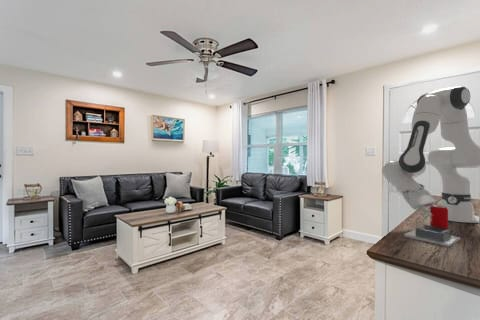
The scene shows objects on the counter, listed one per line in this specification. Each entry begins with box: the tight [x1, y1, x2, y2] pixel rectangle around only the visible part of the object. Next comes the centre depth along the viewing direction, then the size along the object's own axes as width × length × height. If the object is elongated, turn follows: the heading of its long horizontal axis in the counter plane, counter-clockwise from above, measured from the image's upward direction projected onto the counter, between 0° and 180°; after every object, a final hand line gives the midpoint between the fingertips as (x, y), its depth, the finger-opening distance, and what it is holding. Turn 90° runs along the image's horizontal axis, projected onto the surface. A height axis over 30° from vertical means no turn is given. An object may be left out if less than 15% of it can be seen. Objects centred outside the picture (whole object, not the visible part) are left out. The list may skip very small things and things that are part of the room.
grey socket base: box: [403, 224, 461, 248], centre depth 102 cm, size 14×15×4 cm
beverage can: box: [429, 204, 449, 229], centre depth 110 cm, size 6×6×12 cm
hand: (434, 213), depth 111 cm, fingers open, 8 cm apart
